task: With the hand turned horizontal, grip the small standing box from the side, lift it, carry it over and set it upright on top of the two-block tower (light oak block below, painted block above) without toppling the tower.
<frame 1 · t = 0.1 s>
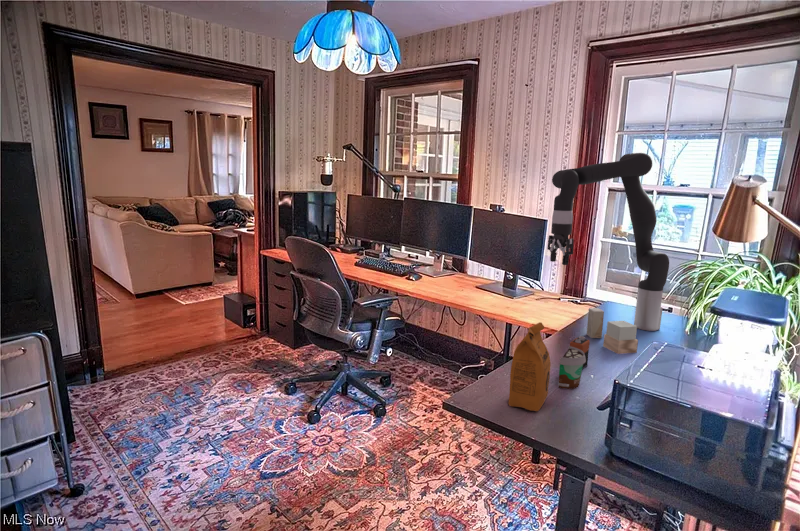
hand: (558, 263, 180), 29 cm above the table, tool pointing down, fingers open, 8 cm apart
coffee package: (528, 403, 125), on the table
tower top: (620, 336, 168), point 5 cm above the table, touching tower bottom
food container: (572, 385, 137), on the table
box: (593, 336, 183), on the table
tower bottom: (619, 349, 168), on the table, touching tower top
battery: (577, 367, 151), on the table
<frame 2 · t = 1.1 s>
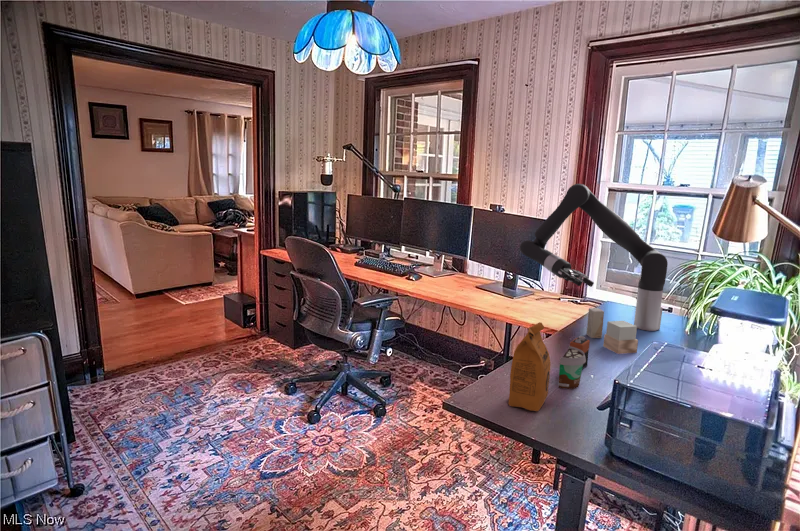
hand: (586, 284, 187), 20 cm above the table, tool tilted 70°, fingers open, 8 cm apart
nothing on the table moved.
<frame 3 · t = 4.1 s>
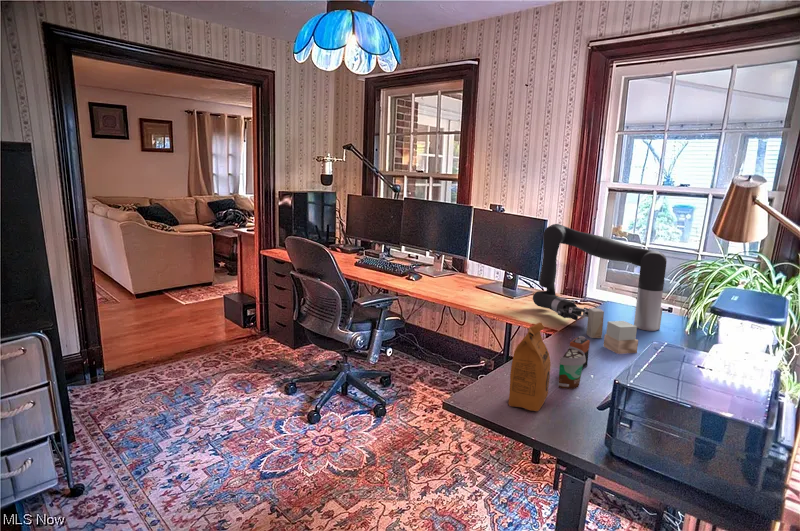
hand: (586, 317, 187), 6 cm above the table, tool horizontal, fingers open, 8 cm apart
nothing on the table moved.
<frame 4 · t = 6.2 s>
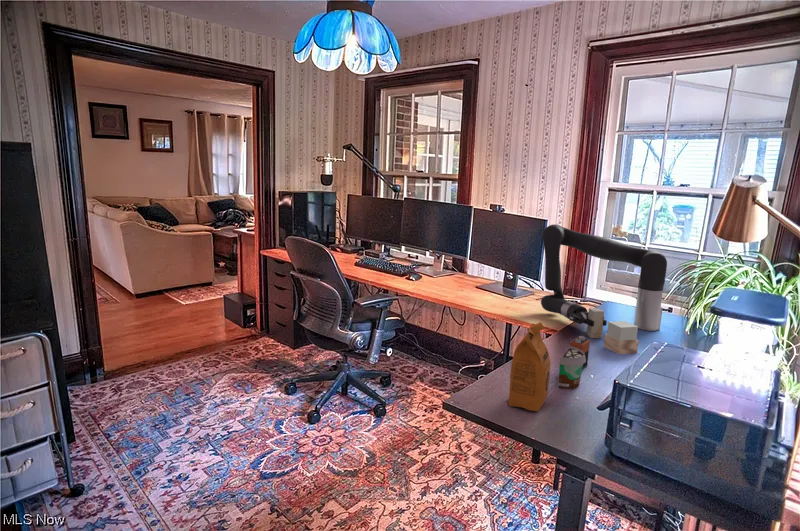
hand: (599, 323, 179), 6 cm above the table, tool horizontal, fingers closed on box, 5 cm apart
box: (593, 336, 183), on the table, touching gripper
everything else where it was.
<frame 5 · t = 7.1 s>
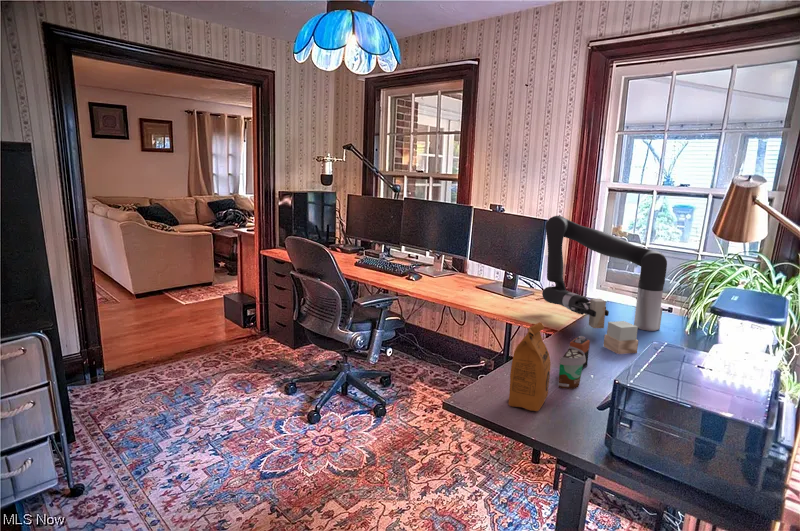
hand: (601, 313, 178), 10 cm above the table, tool horizontal, fingers closed on box, 5 cm apart
box: (595, 327, 182), point 4 cm above the table, touching gripper
everything else where it was.
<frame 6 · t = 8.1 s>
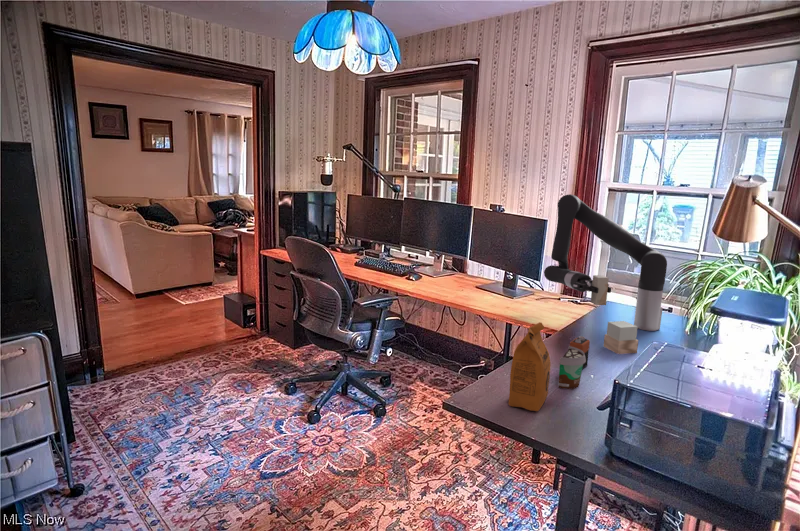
hand: (603, 290, 176), 20 cm above the table, tool horizontal, fingers closed on box, 5 cm apart
box: (597, 304, 180), point 13 cm above the table, touching gripper
everything else where it was.
when the fingers open (17 cm above the table, at t = 10.2 s): box stays where it is, point 10 cm above the table.
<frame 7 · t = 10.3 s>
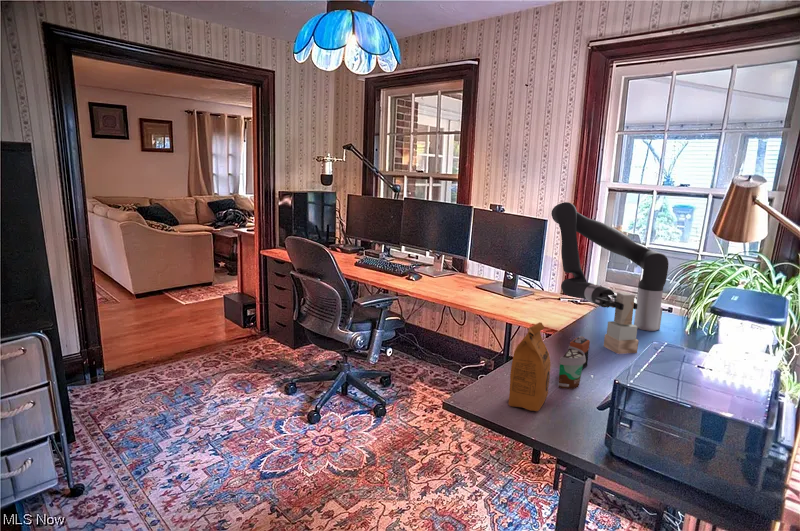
hand: (629, 306, 163), 17 cm above the table, tool horizontal, fingers open, 5 cm apart
box: (622, 323, 167), point 10 cm above the table
everything else where it was.
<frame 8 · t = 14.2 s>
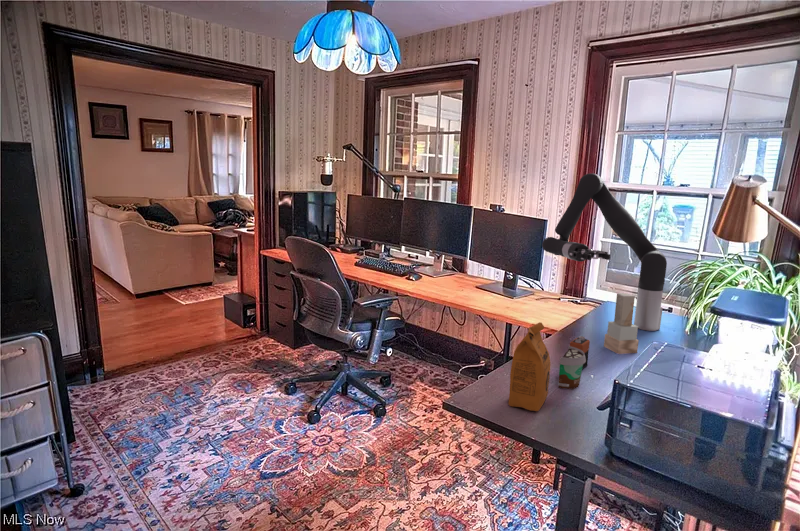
hand: (600, 257, 178), 32 cm above the table, tool horizontal, fingers open, 8 cm apart
tower top: (621, 337, 167), point 5 cm above the table, touching box, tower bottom
box: (622, 324, 167), point 10 cm above the table, touching tower top
everything else where it was.
at the end: box inside the target area on the tower top (0.2 cm from its centre), point 4.8 cm above the tower top's base; box tilted 0°; tower top tilted 0° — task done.
